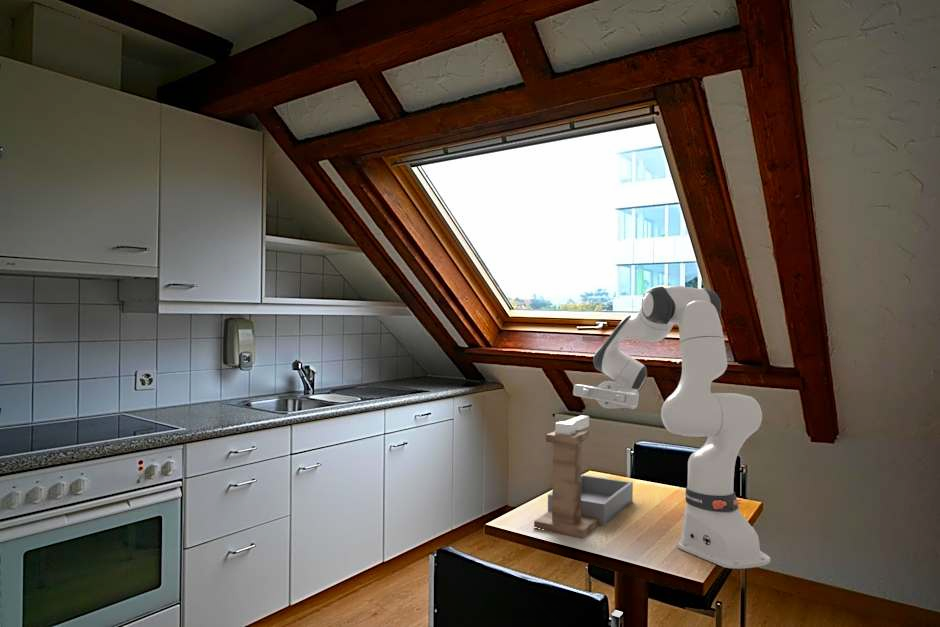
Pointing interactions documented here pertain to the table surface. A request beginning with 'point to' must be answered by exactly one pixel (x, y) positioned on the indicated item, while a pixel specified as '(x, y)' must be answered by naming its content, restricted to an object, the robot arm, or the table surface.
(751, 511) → the table surface
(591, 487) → the parts tray
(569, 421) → the white bar
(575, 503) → the stand
